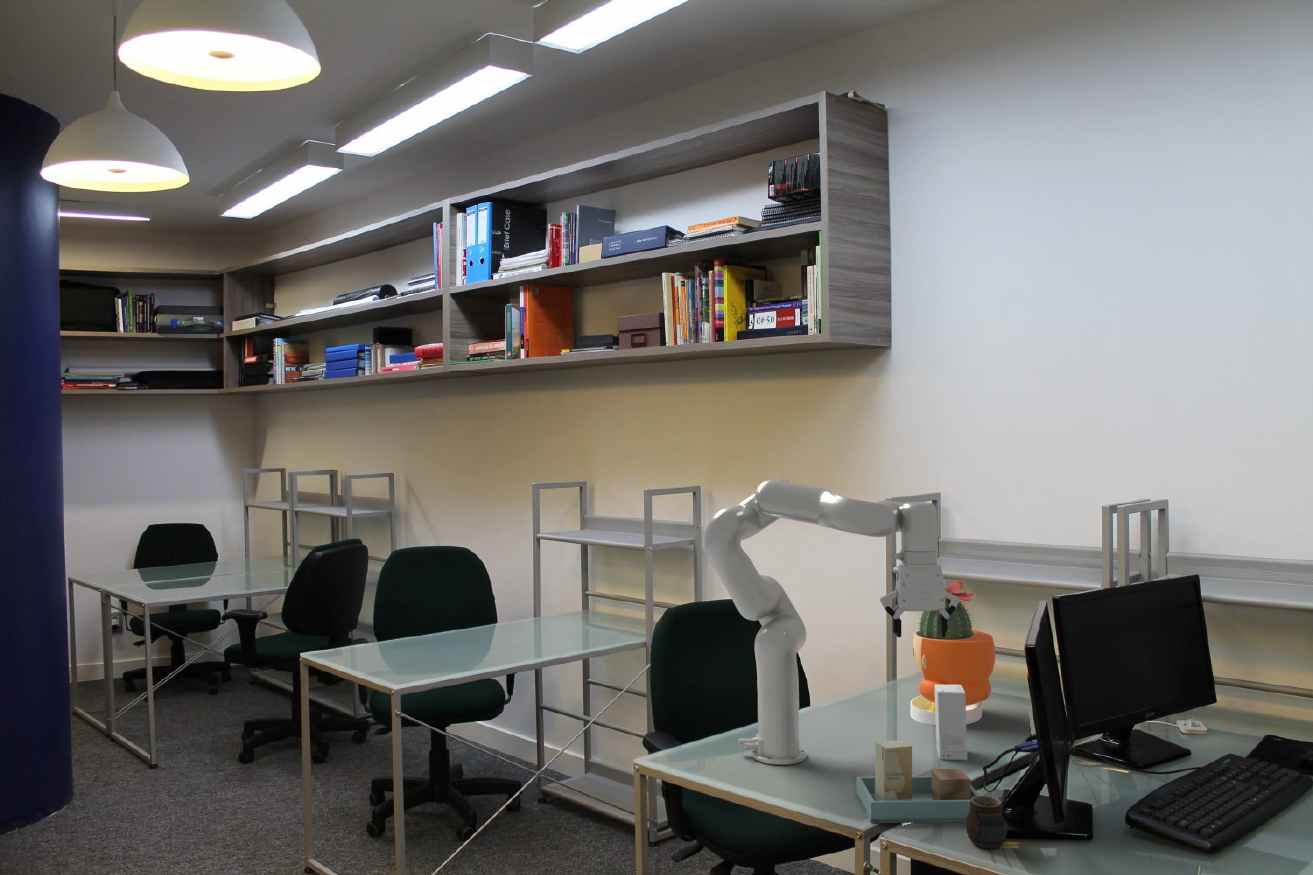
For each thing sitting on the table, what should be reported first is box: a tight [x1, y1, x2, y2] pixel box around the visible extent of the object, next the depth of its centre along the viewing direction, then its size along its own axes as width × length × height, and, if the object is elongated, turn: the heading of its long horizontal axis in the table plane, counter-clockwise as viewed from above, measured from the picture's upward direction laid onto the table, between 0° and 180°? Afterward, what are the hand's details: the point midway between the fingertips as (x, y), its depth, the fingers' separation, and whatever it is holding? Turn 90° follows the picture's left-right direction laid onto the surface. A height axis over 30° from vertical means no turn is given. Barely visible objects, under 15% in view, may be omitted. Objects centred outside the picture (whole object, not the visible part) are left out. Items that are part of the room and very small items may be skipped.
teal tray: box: [855, 775, 981, 824], centre depth 194 cm, size 22×14×4 cm, turn 90°
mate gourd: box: [965, 794, 1008, 849], centre depth 177 cm, size 7×8×10 cm
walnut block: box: [931, 768, 972, 800], centre depth 194 cm, size 6×6×6 cm
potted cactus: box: [909, 580, 996, 726], centre depth 256 cm, size 22×22×35 cm
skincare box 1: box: [874, 739, 913, 801], centre depth 194 cm, size 6×4×12 cm
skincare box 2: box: [935, 685, 968, 761], centre depth 226 cm, size 8×7×16 cm
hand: (920, 635), depth 214 cm, fingers open, 9 cm apart
